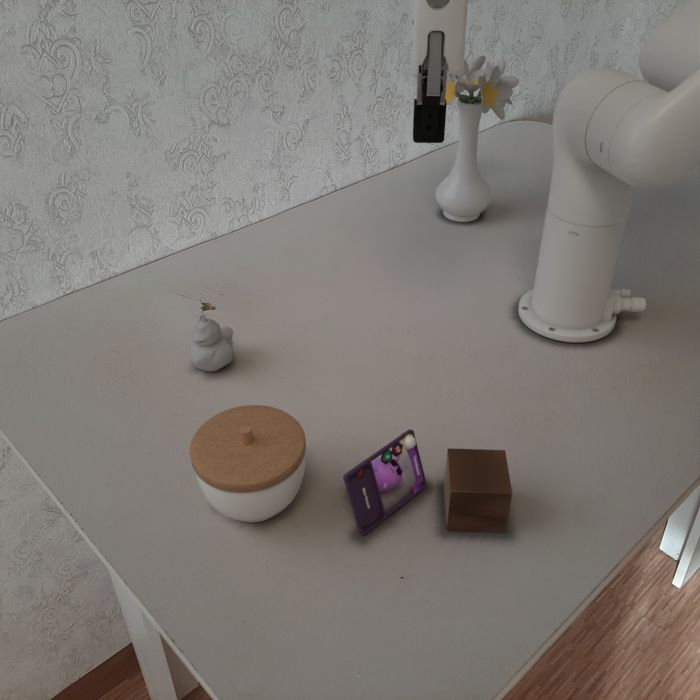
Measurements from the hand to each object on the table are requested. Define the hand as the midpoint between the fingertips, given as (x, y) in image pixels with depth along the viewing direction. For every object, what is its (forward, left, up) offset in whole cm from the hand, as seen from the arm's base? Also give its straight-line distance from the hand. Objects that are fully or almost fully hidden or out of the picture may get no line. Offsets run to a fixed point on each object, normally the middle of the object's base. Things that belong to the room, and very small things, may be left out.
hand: (428, 139), depth 74 cm
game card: (+4, +25, -27) cm, 37 cm away
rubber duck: (+25, +4, -27) cm, 37 cm away
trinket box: (+16, +26, -27) cm, 41 cm away
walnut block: (-5, +26, -27) cm, 38 cm away
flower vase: (-8, -39, -27) cm, 48 cm away
